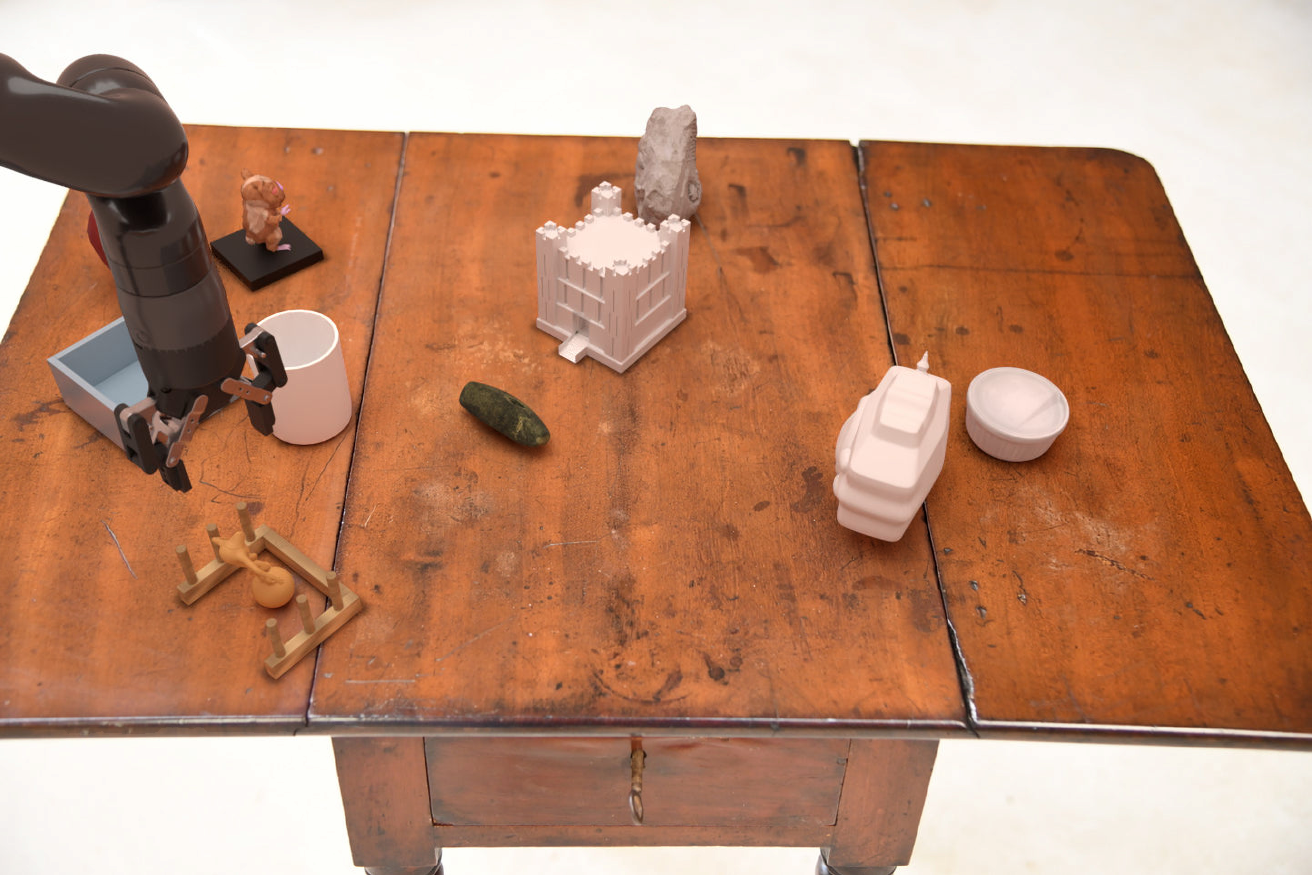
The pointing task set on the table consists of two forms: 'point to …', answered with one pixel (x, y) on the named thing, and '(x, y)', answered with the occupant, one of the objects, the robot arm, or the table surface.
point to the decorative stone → (504, 414)
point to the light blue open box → (103, 377)
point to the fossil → (667, 167)
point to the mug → (308, 377)
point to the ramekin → (1014, 413)
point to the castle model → (611, 281)
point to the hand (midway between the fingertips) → (223, 458)
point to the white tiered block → (892, 451)
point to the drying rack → (324, 581)
